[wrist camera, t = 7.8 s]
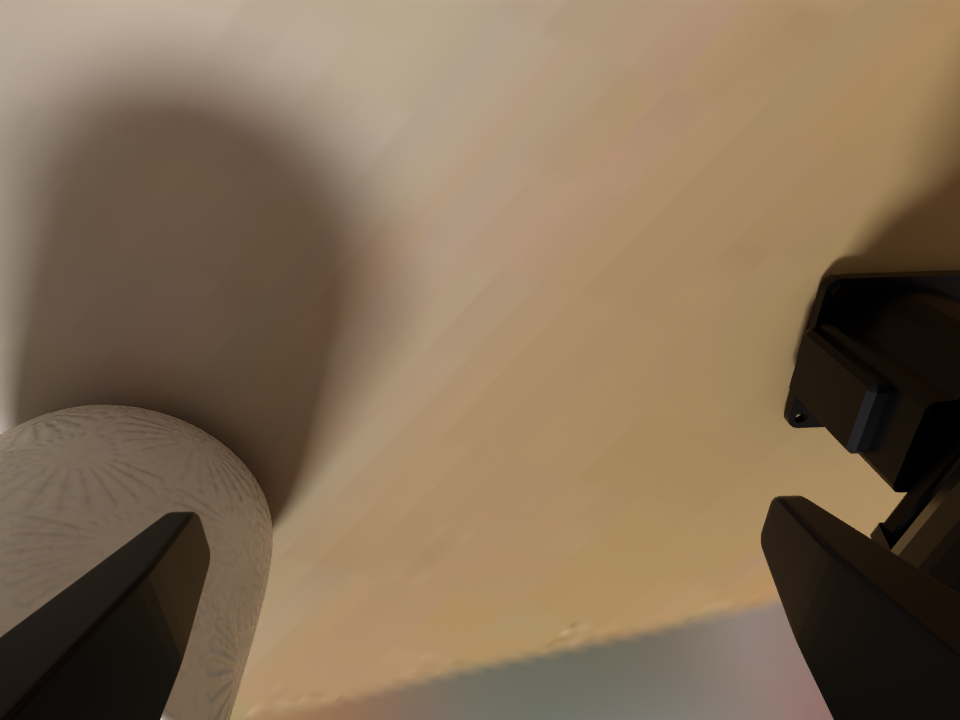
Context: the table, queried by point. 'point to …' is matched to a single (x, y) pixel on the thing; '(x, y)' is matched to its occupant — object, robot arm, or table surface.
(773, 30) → the table surface
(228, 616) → the planter
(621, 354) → the table surface
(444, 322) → the table surface
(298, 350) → the table surface
